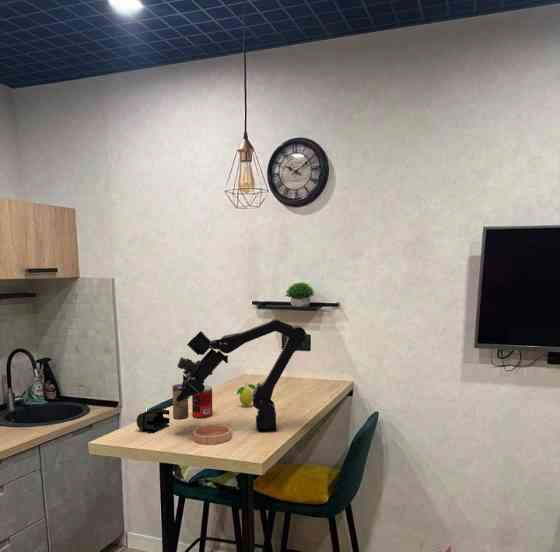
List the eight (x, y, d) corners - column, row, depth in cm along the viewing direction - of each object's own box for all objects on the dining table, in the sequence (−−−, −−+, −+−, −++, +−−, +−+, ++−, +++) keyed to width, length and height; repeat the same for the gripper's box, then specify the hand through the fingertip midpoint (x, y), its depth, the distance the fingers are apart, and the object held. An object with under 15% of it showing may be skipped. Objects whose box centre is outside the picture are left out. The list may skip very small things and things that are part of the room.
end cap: (155, 423, 177) (154, 405, 177) (170, 426, 174) (170, 407, 174) (136, 431, 168) (135, 412, 168) (151, 434, 165) (151, 414, 165)
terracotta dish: (230, 431, 167) (230, 423, 167) (232, 443, 155) (232, 435, 155) (194, 433, 166) (194, 425, 166) (192, 445, 153) (192, 438, 153)
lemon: (257, 405, 200) (256, 381, 200) (250, 409, 195) (250, 384, 195) (243, 403, 203) (242, 380, 203) (236, 407, 197) (235, 383, 197)
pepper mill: (188, 414, 167) (188, 383, 167) (188, 419, 162) (187, 387, 162) (173, 415, 167) (173, 384, 167) (172, 420, 162) (171, 387, 162)
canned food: (215, 413, 190) (214, 385, 190) (208, 419, 182) (208, 390, 182) (196, 412, 191) (196, 384, 191) (189, 418, 183) (189, 389, 183)
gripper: (188, 345, 175) (158, 378, 172) (193, 353, 157) (159, 389, 154) (210, 365, 177) (181, 398, 174) (218, 375, 159) (185, 411, 156)
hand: (176, 398), depth 164 cm, fingers closed on pepper mill, 5 cm apart
